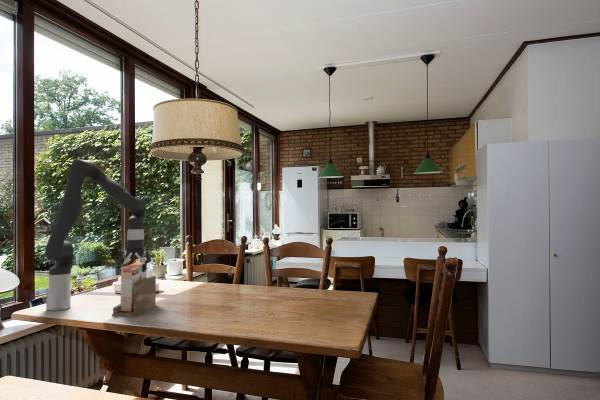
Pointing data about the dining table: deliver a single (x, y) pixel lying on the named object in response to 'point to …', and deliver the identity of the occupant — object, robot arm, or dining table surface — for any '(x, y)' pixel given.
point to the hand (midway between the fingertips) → (135, 271)
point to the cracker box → (130, 284)
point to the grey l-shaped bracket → (140, 298)
